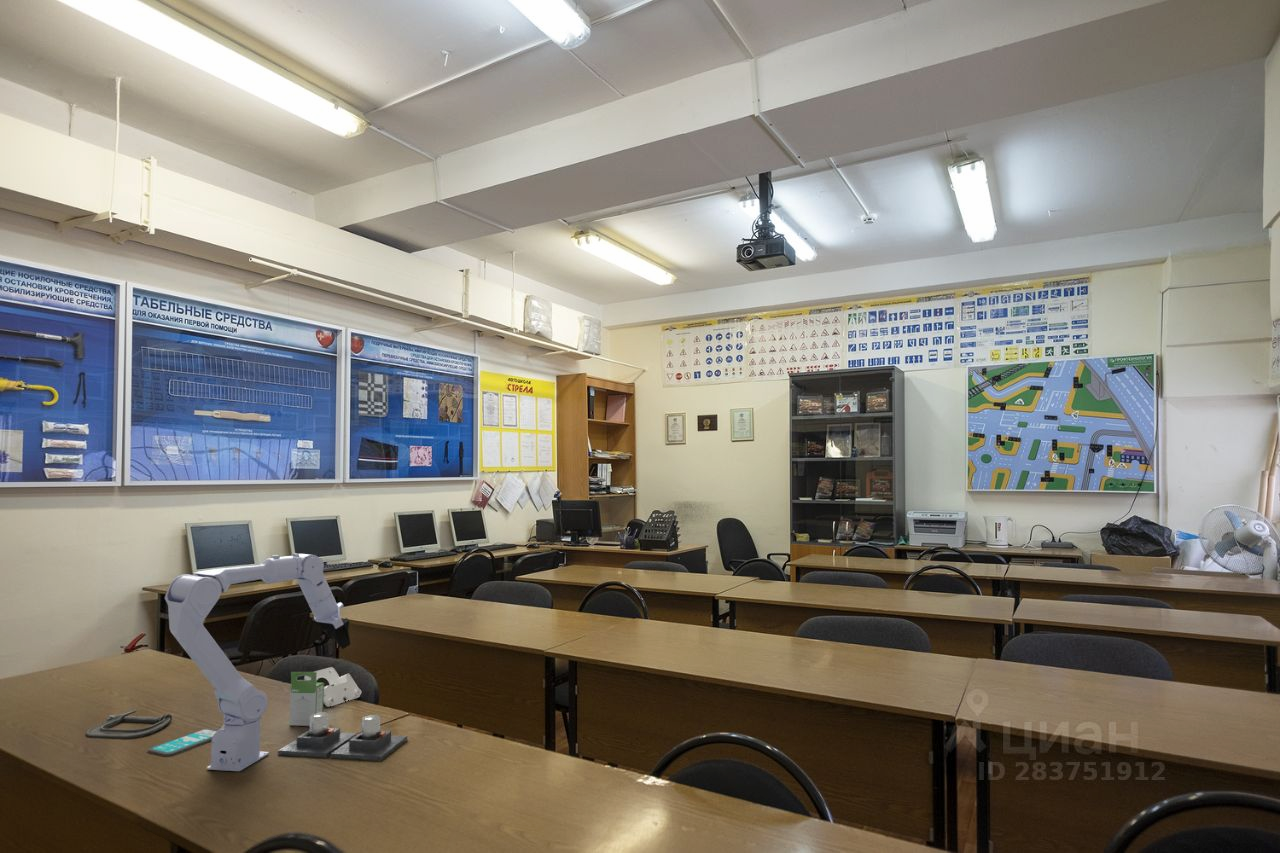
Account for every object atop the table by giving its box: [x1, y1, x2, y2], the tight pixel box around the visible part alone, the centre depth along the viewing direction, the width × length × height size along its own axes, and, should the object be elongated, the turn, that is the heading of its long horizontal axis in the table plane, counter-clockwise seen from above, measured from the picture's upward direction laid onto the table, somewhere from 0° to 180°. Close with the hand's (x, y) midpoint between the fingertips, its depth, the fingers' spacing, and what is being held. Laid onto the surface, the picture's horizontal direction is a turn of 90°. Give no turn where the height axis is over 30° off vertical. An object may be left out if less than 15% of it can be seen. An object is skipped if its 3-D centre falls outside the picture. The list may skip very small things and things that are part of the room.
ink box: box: [288, 671, 325, 727], centre depth 175 cm, size 7×4×13 cm, turn 84°
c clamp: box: [85, 709, 173, 740], centre depth 174 cm, size 20×17×3 cm
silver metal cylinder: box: [308, 711, 330, 737], centre depth 160 cm, size 4×4×6 cm
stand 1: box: [277, 727, 358, 759], centre depth 160 cm, size 12×12×4 cm
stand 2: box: [330, 729, 408, 762], centre depth 158 cm, size 12×12×4 cm
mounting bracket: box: [303, 666, 362, 708], centre depth 192 cm, size 12×6×11 cm, turn 149°
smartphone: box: [147, 727, 220, 757], centre depth 162 cm, size 9×1×15 cm
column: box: [360, 714, 381, 740], centre depth 158 cm, size 4×4×6 cm
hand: (340, 641), depth 174 cm, fingers open, 7 cm apart
